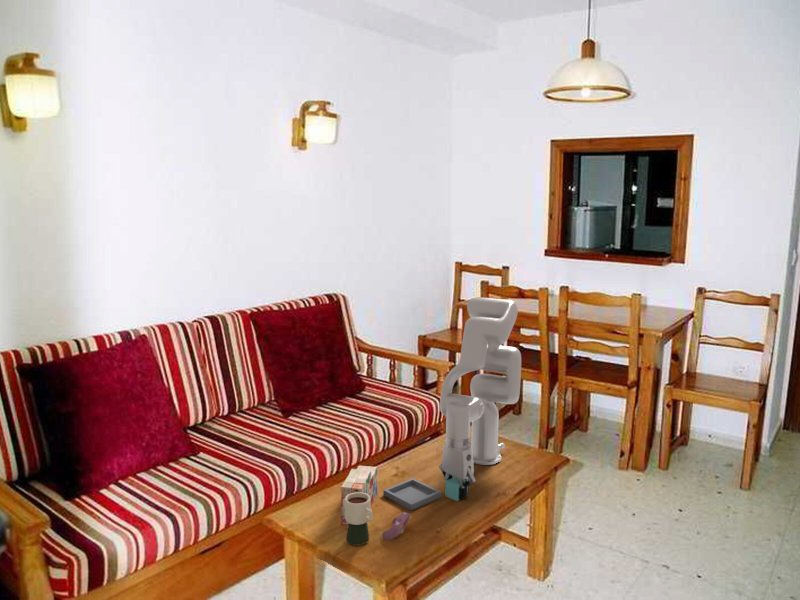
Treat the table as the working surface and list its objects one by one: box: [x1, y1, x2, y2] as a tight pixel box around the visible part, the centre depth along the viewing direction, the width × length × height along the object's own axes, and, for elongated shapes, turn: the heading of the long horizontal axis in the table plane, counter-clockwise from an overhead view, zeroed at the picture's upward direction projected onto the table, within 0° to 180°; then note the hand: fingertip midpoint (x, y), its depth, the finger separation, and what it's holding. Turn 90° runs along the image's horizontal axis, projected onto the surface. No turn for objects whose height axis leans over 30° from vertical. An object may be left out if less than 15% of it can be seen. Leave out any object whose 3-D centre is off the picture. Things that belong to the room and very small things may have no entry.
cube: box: [444, 476, 469, 502], centre depth 208 cm, size 5×5×5 cm
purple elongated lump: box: [381, 511, 412, 541], centre depth 186 cm, size 10×5×7 cm, turn 160°
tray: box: [382, 477, 442, 512], centre depth 208 cm, size 13×13×2 cm
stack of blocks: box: [340, 465, 378, 526], centre depth 199 cm, size 21×6×12 cm, turn 170°
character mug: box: [343, 492, 373, 546], centre depth 181 cm, size 11×7×13 cm, turn 49°
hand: (456, 494), depth 209 cm, fingers closed on cube, 4 cm apart
